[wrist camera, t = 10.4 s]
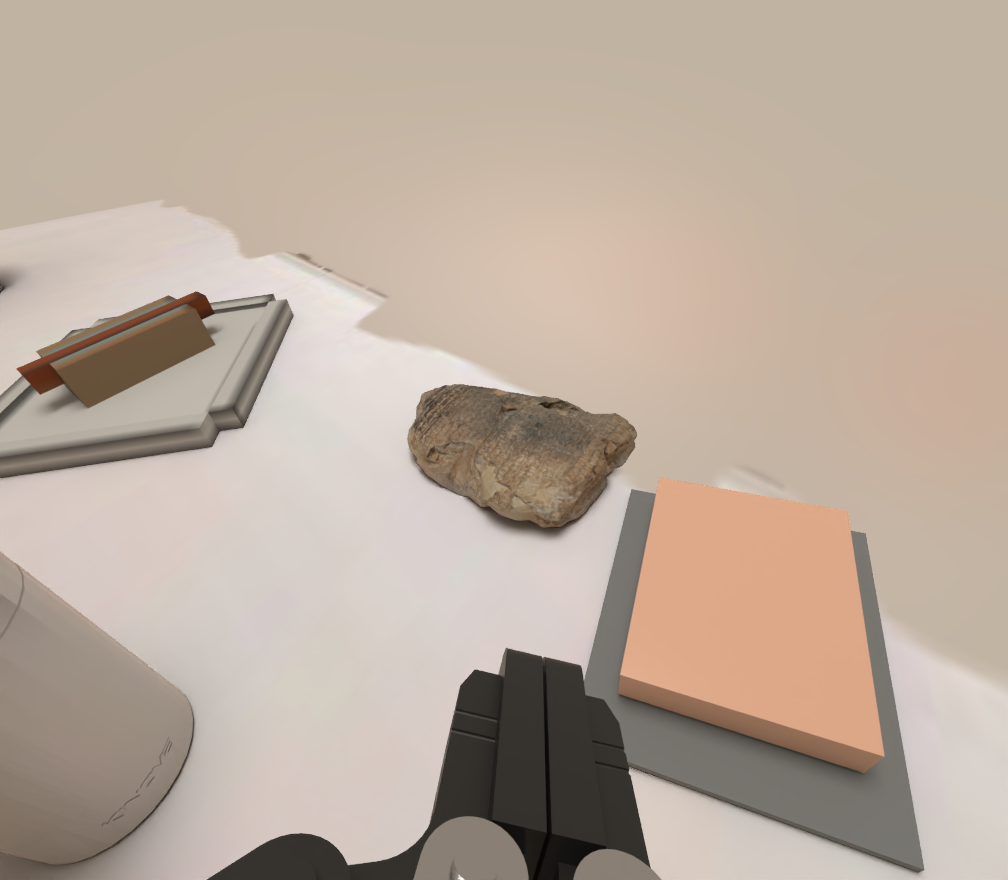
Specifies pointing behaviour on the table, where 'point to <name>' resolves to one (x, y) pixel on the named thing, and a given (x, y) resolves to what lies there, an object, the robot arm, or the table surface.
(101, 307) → the table surface
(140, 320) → the grey square tray
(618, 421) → the clay tablet
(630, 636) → the terracotta tile
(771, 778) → the rubber mat
